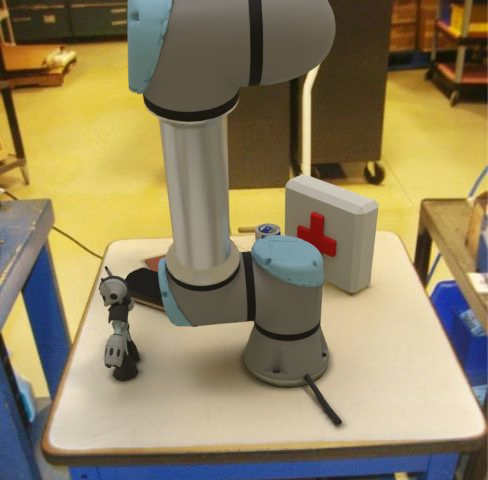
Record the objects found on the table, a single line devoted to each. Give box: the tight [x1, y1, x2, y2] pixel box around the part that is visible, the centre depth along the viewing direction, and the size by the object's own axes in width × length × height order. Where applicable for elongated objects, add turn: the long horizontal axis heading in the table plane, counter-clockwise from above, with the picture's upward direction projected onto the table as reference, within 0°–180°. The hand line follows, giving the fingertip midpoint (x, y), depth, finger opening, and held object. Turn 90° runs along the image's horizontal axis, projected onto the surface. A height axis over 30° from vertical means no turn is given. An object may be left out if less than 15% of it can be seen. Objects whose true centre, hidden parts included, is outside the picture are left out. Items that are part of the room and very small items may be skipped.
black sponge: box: [124, 266, 166, 312], centre depth 129 cm, size 16×8×4 cm, turn 59°
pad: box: [144, 254, 166, 272], centre depth 144 cm, size 8×20×1 cm, turn 116°
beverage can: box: [254, 222, 282, 243], centre depth 127 cm, size 5×5×15 cm
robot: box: [98, 265, 141, 382], centre depth 106 cm, size 20×5×20 cm, turn 2°
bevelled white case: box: [284, 173, 379, 295], centre depth 130 cm, size 21×8×20 cm, turn 42°
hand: (198, 206), depth 132 cm, fingers closed
